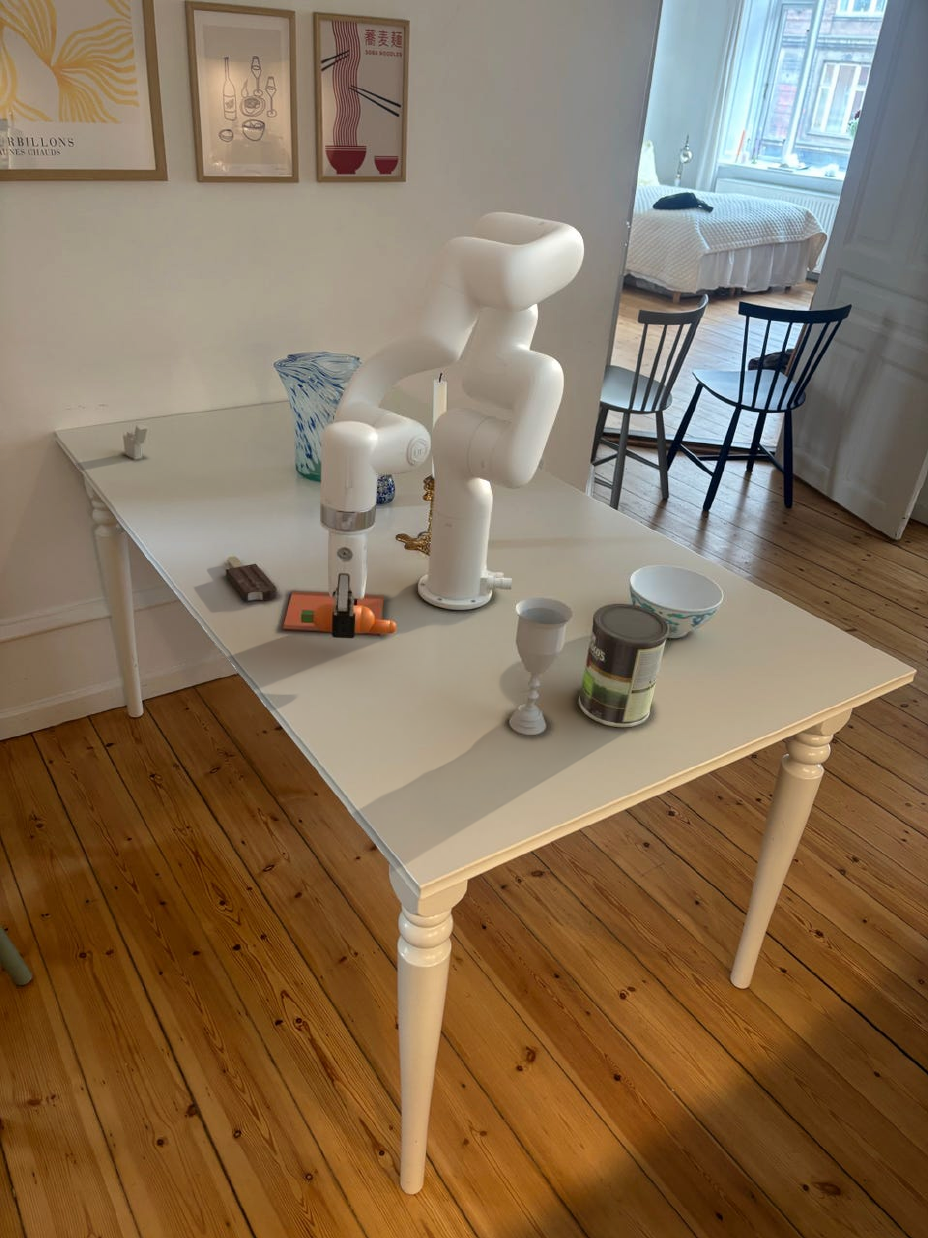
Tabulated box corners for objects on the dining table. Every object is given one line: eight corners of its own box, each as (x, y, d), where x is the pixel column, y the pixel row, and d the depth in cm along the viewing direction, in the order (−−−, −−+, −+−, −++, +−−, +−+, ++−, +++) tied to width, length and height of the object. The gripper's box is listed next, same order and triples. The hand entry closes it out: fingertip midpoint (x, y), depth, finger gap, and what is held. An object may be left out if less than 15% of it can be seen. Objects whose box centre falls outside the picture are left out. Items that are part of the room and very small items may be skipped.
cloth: (383, 597, 154) (383, 595, 154) (380, 635, 144) (380, 633, 144) (292, 592, 153) (292, 590, 153) (282, 630, 143) (282, 628, 143)
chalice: (551, 710, 131) (568, 599, 122) (556, 740, 125) (576, 626, 116) (499, 707, 130) (513, 596, 121) (502, 737, 125) (517, 622, 115)
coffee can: (585, 727, 128) (601, 641, 121) (572, 684, 137) (587, 601, 130) (658, 729, 129) (678, 643, 122) (640, 686, 138) (658, 604, 131)
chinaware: (603, 620, 154) (610, 579, 150) (660, 596, 163) (669, 557, 159) (673, 662, 145) (684, 619, 141) (731, 635, 153) (742, 594, 149)
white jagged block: (124, 453, 198) (120, 417, 194) (131, 452, 199) (128, 416, 195) (142, 463, 194) (139, 427, 190) (150, 462, 195) (146, 425, 191)
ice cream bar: (216, 564, 159) (248, 604, 149) (215, 556, 158) (247, 595, 148) (245, 559, 162) (279, 598, 151) (245, 550, 161) (278, 589, 150)
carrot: (396, 626, 138) (397, 603, 136) (395, 640, 135) (397, 616, 133) (303, 621, 137) (303, 597, 135) (299, 635, 134) (300, 610, 132)
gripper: (372, 541, 120) (367, 661, 129) (378, 492, 134) (372, 602, 144) (314, 538, 119) (312, 658, 128) (325, 488, 134) (323, 599, 143)
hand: (344, 627), depth 136 cm, fingers closed on carrot, 4 cm apart
